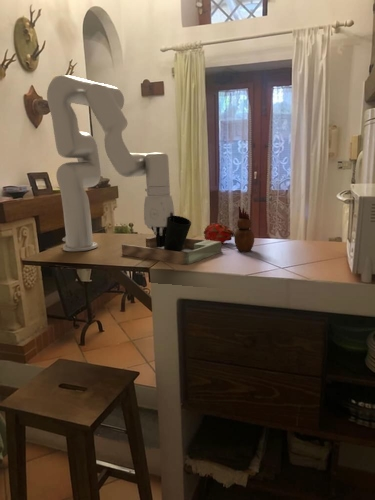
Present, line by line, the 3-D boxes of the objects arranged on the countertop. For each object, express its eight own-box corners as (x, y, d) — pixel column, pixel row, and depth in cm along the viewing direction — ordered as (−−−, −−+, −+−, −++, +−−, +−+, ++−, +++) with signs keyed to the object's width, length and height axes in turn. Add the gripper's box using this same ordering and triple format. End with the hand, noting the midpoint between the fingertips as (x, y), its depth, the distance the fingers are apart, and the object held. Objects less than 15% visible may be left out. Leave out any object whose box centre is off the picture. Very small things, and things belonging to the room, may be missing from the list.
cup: (180, 261, 126) (189, 227, 121) (158, 254, 126) (165, 220, 121) (184, 252, 133) (193, 219, 128) (163, 246, 133) (170, 213, 128)
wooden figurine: (231, 249, 135) (231, 206, 132) (245, 247, 138) (245, 205, 134) (243, 253, 129) (242, 208, 126) (257, 251, 132) (257, 206, 128)
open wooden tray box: (122, 254, 135) (121, 244, 134) (159, 243, 150) (158, 234, 149) (187, 264, 118) (186, 253, 117) (221, 251, 133) (221, 241, 132)
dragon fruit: (202, 246, 150) (232, 252, 146) (197, 237, 142) (229, 243, 138) (208, 226, 153) (238, 232, 149) (204, 216, 145) (235, 222, 141)
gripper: (133, 192, 129) (137, 246, 133) (168, 193, 120) (171, 251, 124) (149, 190, 135) (152, 242, 139) (183, 191, 126) (185, 246, 130)
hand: (161, 246), depth 132 cm, fingers closed
